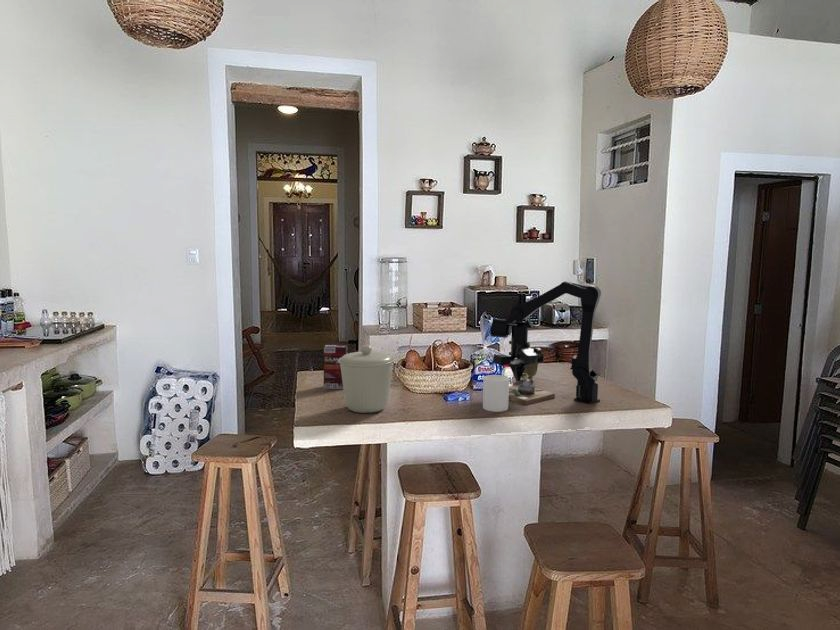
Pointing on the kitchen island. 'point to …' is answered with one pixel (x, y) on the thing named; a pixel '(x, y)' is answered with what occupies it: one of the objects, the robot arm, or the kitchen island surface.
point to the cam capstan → (526, 385)
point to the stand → (529, 396)
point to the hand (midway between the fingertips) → (517, 381)
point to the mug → (495, 393)
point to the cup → (531, 370)
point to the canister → (366, 379)
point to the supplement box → (333, 366)
